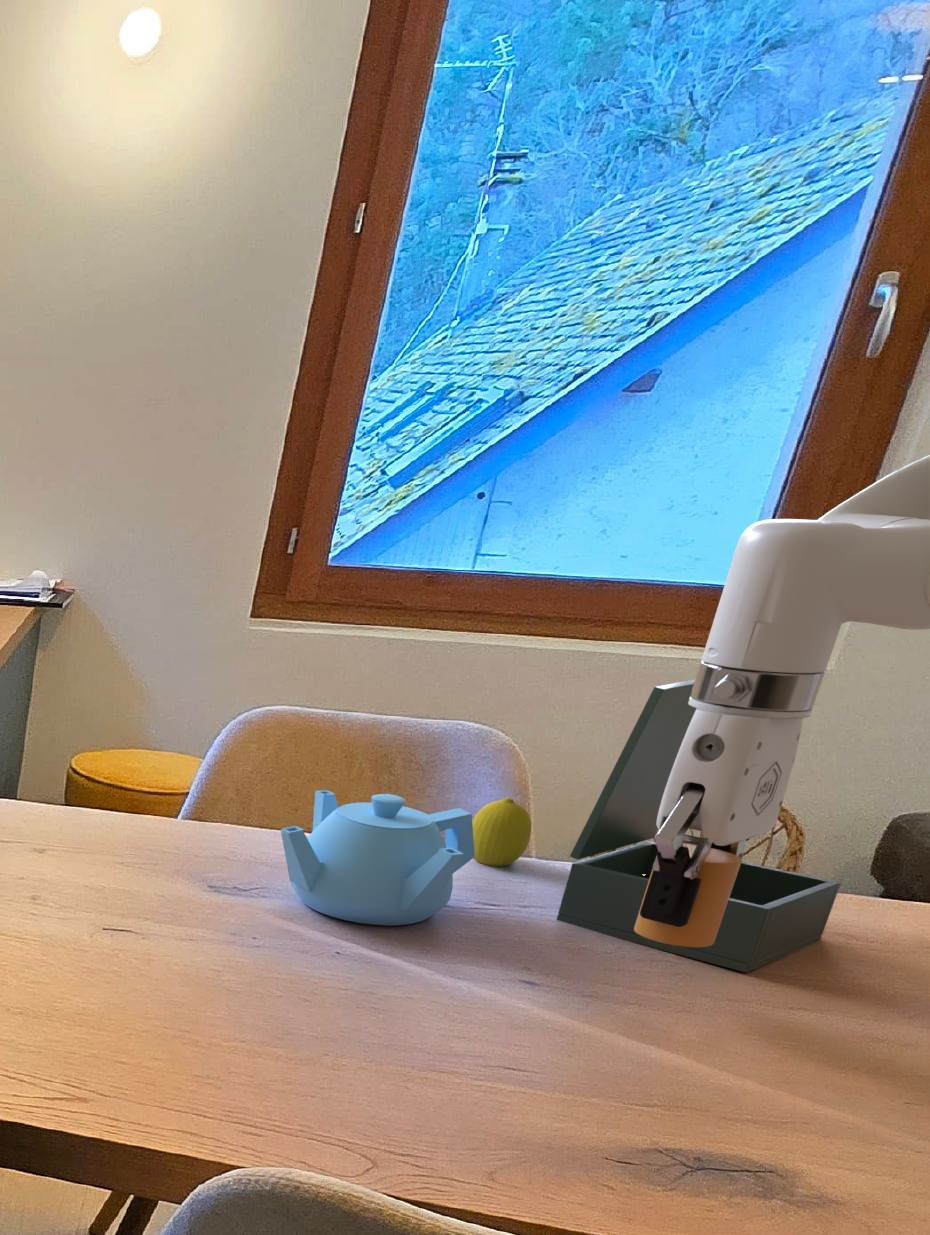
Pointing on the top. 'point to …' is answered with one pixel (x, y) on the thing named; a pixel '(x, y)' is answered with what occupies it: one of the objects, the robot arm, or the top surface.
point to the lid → (639, 774)
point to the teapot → (377, 859)
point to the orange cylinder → (699, 904)
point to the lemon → (501, 832)
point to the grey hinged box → (751, 925)
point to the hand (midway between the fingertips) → (681, 913)
